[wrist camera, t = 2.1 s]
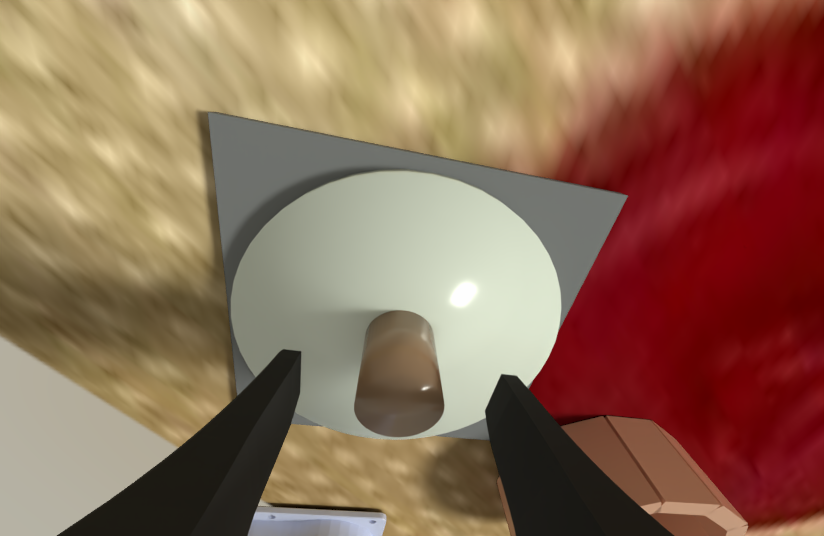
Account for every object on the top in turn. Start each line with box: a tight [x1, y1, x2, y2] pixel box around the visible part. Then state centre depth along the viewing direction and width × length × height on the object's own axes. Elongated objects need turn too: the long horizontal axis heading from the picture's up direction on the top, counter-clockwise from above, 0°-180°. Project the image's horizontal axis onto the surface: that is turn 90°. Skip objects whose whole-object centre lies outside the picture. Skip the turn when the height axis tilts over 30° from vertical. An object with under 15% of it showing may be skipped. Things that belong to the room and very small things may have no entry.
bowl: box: [497, 416, 748, 536], centre depth 19 cm, size 12×12×4 cm
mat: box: [208, 112, 628, 440], centre depth 14 cm, size 15×15×1 cm
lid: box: [231, 169, 561, 440], centre depth 12 cm, size 14×14×4 cm
